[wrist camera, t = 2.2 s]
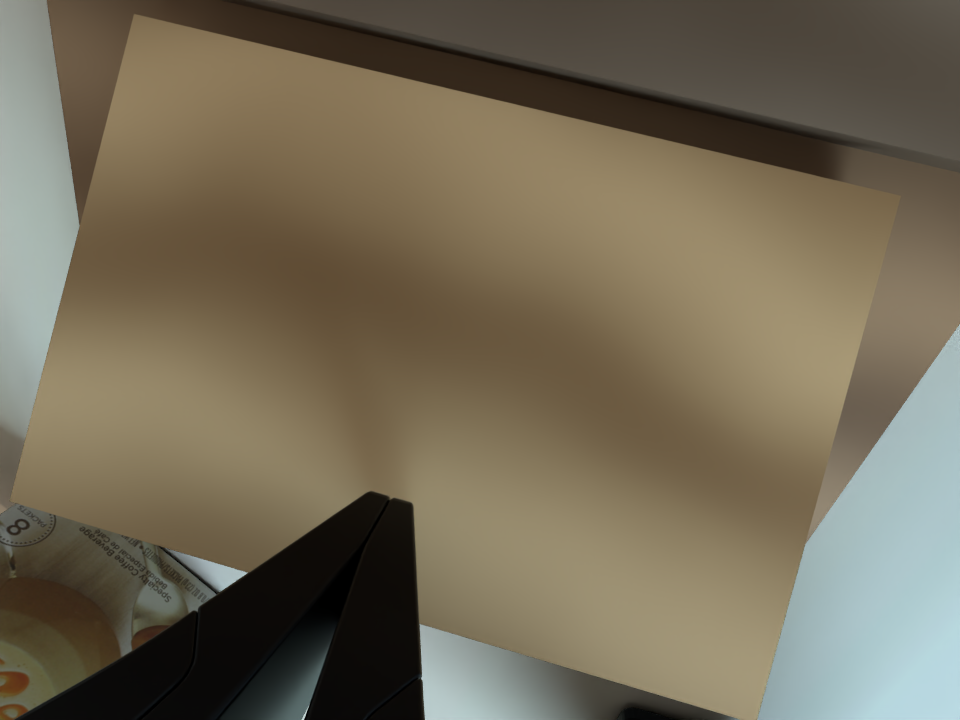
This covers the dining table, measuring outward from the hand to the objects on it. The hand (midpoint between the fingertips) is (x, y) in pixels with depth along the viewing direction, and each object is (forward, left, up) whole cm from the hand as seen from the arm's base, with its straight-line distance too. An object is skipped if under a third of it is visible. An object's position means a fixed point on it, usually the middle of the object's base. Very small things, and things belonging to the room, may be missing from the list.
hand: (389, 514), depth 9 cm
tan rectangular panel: (+2, 0, -3) cm, 4 cm away
